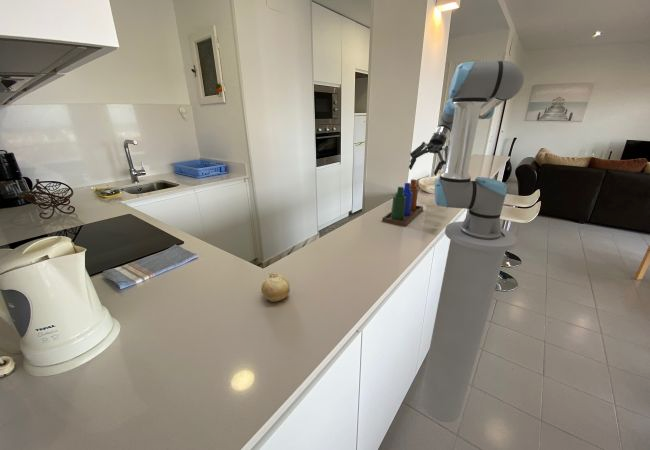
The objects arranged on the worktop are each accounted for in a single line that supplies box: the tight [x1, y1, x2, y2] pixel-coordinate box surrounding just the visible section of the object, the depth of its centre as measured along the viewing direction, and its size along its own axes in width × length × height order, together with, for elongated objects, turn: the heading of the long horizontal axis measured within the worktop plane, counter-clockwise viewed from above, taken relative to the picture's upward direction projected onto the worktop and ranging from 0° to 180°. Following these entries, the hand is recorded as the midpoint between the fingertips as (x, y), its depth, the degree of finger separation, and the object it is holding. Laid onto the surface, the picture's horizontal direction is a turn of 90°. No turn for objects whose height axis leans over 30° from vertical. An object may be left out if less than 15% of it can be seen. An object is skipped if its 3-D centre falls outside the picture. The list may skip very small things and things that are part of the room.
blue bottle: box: [403, 182, 413, 216], centre depth 141 cm, size 6×6×16 cm
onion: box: [260, 272, 291, 303], centre depth 77 cm, size 8×8×7 cm
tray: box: [381, 204, 424, 227], centre depth 144 cm, size 12×30×2 cm, turn 146°
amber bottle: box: [410, 178, 419, 211], centre depth 149 cm, size 6×6×16 cm
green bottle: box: [391, 186, 406, 221], centre depth 133 cm, size 6×6×16 cm
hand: (422, 171), depth 143 cm, fingers open, 13 cm apart
